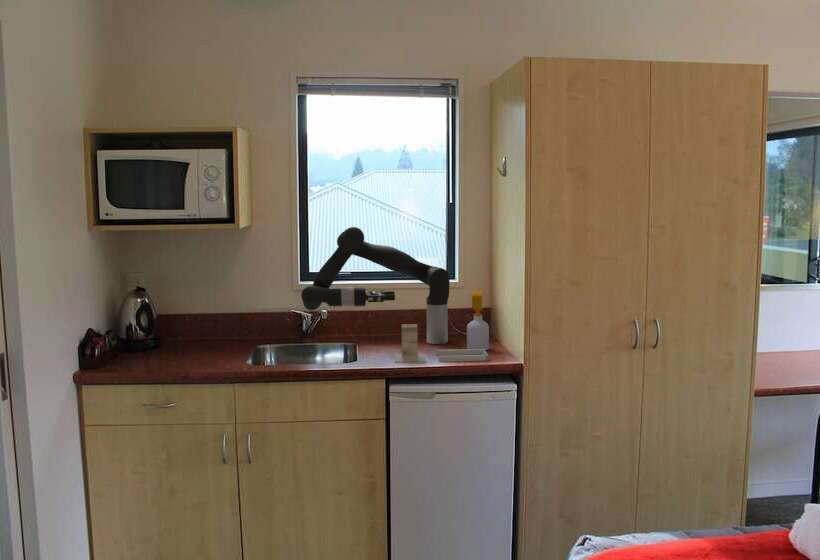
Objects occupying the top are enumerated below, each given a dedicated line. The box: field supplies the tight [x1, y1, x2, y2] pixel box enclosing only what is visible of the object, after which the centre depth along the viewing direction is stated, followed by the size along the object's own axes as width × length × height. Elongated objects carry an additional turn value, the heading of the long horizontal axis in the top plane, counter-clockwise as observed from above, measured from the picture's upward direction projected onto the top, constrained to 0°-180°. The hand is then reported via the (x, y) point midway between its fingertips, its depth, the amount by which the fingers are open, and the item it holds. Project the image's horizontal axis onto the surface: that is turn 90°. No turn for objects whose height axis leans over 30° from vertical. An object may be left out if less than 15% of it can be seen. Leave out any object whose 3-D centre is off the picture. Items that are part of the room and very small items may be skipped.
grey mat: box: [394, 353, 427, 363], centre depth 254 cm, size 12×12×1 cm
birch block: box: [401, 323, 419, 359], centre depth 254 cm, size 5×6×13 cm
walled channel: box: [436, 348, 490, 362], centre depth 255 cm, size 11×20×2 cm, turn 92°
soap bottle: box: [466, 290, 490, 352], centre depth 268 cm, size 9×9×25 cm
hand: (394, 295), depth 252 cm, fingers open, 8 cm apart
